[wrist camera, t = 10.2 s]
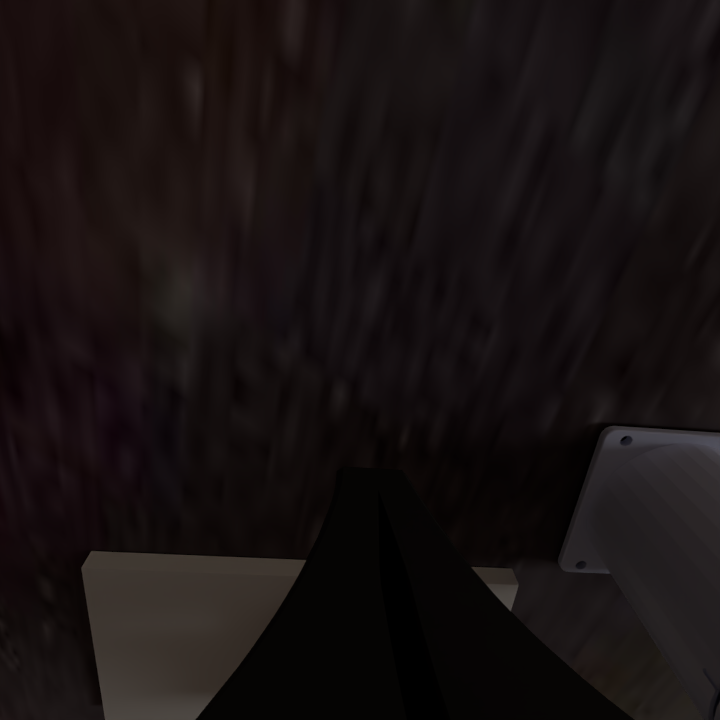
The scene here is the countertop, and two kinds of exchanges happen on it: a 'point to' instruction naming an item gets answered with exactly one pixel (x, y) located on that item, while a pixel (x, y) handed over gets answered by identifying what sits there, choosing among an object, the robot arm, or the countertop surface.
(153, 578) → the baseplate
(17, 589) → the countertop surface
